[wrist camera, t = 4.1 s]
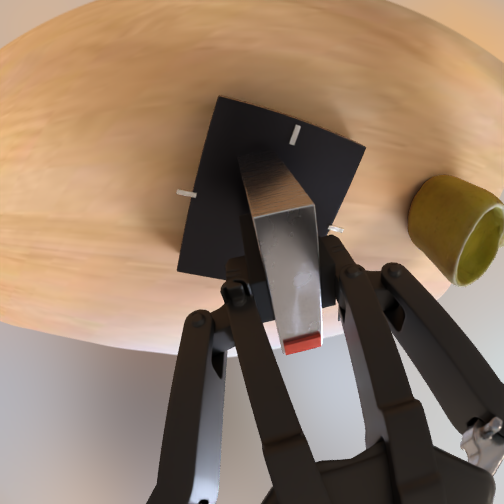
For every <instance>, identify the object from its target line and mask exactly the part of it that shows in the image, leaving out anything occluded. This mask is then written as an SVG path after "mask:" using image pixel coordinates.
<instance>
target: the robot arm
mask: <svg viewBox="0 0 504 504" xmlns="http://www.w3.org/2000/svg"><path fill="white" fill-rule="evenodd" d="M239 220H240V226H241V233H242V239H243V245H244V252H245V255H244V256H240V257H236V258H231V259H229V260H228V262H227V264H226V282H225V283H224V284H223V285H222V287H221V291H220V292H221V295H222V297H223V300H224V302H225V304H224V305H223V306H222V307H221V308H219V309H217V310H215V311H213V312H211V313H210V312H209V311H207V310H196V311H194V312H192V313H190V314H189V315H188V316H187V318H186V320H185V323H184V327H183V332H182V337H181V342H180V346H179V351H178V356H177V361H176V366H175V371H174V376H173V382H172V387H171V393H170V398H169V404H168V410H167V416H166V422H165V428H164V434H163V441H162V448H161V455H160V462H159V470H158V478H157V485H156V486H155V488H154V490H153V492H152V494H151V496H150V498H149V499H148V501H147V503H146V504H216V500H217V497H218V491H219V479H220V460H221V441H222V424H223V408H224V392H225V378H226V363H227V350H228V349H231V348H233V347H235V346H236V350H237V354H238V358H239V362H240V366H241V370H242V373H243V377H244V381H245V385H246V388H247V392H248V396H249V400H250V403H251V407H252V410H253V414H254V417H255V421H256V424H257V428H258V431H259V435H260V438H261V441H262V450H263V455H264V458H265V461H266V465H267V468H268V471H269V474H270V477H271V481H272V484H273V487H272V488H271V489H270V491H269V492H268V494H267V495H266V497H265V498H264V500H263V501H262V503H261V504H493V500H494V496H495V490H496V487H495V481H494V478H493V476H494V474H495V473H496V471H497V469H498V468H499V466H500V464H501V462H502V461H503V459H504V384H503V383H502V382H501V381H500V380H499V378H498V377H497V375H496V374H495V372H494V371H493V370H492V368H491V367H490V366H489V364H488V363H487V361H486V360H485V359H484V358H483V356H482V355H481V354H480V352H479V351H478V350H477V348H476V347H475V346H474V344H473V343H472V342H471V341H470V339H469V338H468V337H467V336H466V334H465V333H464V332H463V331H462V330H461V328H460V327H459V326H458V325H457V324H456V322H455V321H454V320H453V319H452V318H451V317H450V315H449V314H448V313H447V312H446V311H445V310H444V309H443V307H442V306H441V305H440V304H439V303H438V302H437V301H436V300H435V298H434V297H433V296H432V295H431V294H430V293H429V292H428V291H427V290H426V289H425V288H424V287H423V285H422V284H421V283H420V282H419V281H418V280H417V279H416V278H415V277H414V276H413V275H412V274H411V273H410V272H409V271H408V270H407V269H406V268H405V267H404V266H402V265H401V264H398V263H392V262H391V263H387V264H385V265H384V266H383V267H382V270H381V271H366V270H365V269H364V268H363V267H362V266H360V265H358V264H355V262H354V261H353V259H352V257H351V256H350V254H349V253H348V251H347V250H346V249H345V247H344V245H343V244H342V242H341V241H340V239H339V238H337V237H336V236H334V235H328V236H324V237H320V236H319V234H318V246H319V261H320V278H321V301H322V308H325V307H329V306H332V305H336V299H337V301H338V304H339V308H338V321H340V318H341V322H342V326H343V330H344V333H345V337H346V341H347V345H348V349H349V353H350V357H351V362H352V366H353V370H354V375H355V378H356V383H357V388H358V393H359V398H360V402H361V408H362V413H363V418H364V423H365V430H366V432H365V442H366V450H365V451H363V452H362V453H360V454H359V455H357V456H355V457H353V458H351V459H343V460H327V461H319V462H315V460H314V458H313V455H312V452H311V450H310V447H309V445H308V442H307V440H306V437H305V435H304V433H303V431H302V429H301V426H300V424H299V421H298V418H297V416H296V413H295V410H294V408H293V405H292V403H291V400H290V397H289V394H288V392H287V389H286V386H285V384H284V381H283V378H282V376H281V373H280V370H279V367H278V365H277V362H276V359H275V356H274V354H273V351H272V348H271V345H270V343H269V340H268V337H267V334H266V332H265V329H264V326H263V323H264V322H268V321H273V320H275V316H274V312H273V307H272V303H271V298H270V294H269V289H268V285H267V281H266V276H265V272H264V268H263V263H262V259H261V255H260V251H259V247H258V242H257V238H256V234H255V230H254V225H253V221H252V217H251V213H249V214H244V215H240V216H239ZM317 233H318V232H317ZM391 332H392V333H393V335H394V336H395V337H396V339H397V340H398V342H399V343H400V345H401V346H402V347H403V349H404V350H405V352H406V353H407V355H408V356H409V357H410V359H411V361H412V362H413V363H414V365H415V366H416V368H417V369H418V371H419V372H420V374H421V376H422V377H423V379H424V380H425V382H426V383H427V385H428V386H429V388H430V390H431V391H432V393H433V394H434V396H435V397H436V399H437V401H438V402H439V404H440V405H441V407H442V409H443V410H444V412H445V414H446V415H447V417H448V419H449V420H450V422H451V423H452V424H453V426H454V427H455V428H456V429H457V430H458V432H459V433H461V434H462V435H463V437H462V441H461V444H460V447H461V449H462V450H464V451H466V453H467V455H468V462H467V461H464V460H462V459H460V458H458V457H456V456H454V455H452V454H450V453H448V452H446V451H444V450H442V449H439V448H438V447H436V446H434V445H433V444H432V440H431V435H430V431H429V427H428V424H427V420H426V416H425V413H424V409H423V406H422V404H421V402H420V401H419V400H417V399H415V398H414V397H413V394H412V391H411V388H410V385H409V382H408V378H407V376H406V373H405V369H404V366H403V363H402V361H401V357H400V355H399V352H398V349H397V346H396V344H395V341H394V338H393V336H392V333H391Z"/></svg>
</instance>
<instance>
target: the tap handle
mask: <svg viewBox="0 0 504 504" xmlns="http://www.w3.org/2000/svg"><path fill="white" fill-rule="evenodd" d="M237 158H238V162H239V166H240V171H241V175H242V179H243V183H244V188H245V192H246V196H247V200H248V205H249V209H250V213H251V217H252V221H253V225H254V230H255V234H256V238H257V242H258V247H259V251H260V255H261V259H262V263H263V268H264V272H265V276H266V281H267V285H268V289H269V294H270V298H271V303H272V307H273V312H274V316H275V322H276V326H277V330H278V335H279V339H280V344H281V348H282V352H283V354H286V355H289V354H293V353H297V352H301V351H305V350H309V349H313V348H317V347H321V344H322V301H321V278H320V261H319V246H318V233H317V221H316V210H315V204H314V203H313V201H312V200H311V199H310V197H309V196H308V195H307V193H306V192H305V191H304V189H303V188H302V186H301V185H300V184H299V183H298V181H297V180H296V179H295V177H294V176H293V175H292V173H291V172H290V171H289V169H288V168H287V167H286V166H285V164H284V163H283V162H282V161H281V159H280V158H279V157H278V155H277V154H276V153H275V152H274V151H273V149H270V150H265V151H260V152H255V153H251V154H246V155H242V156H238V157H237Z"/></svg>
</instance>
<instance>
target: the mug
mask: <svg viewBox="0 0 504 504" xmlns="http://www.w3.org/2000/svg"><path fill="white" fill-rule="evenodd" d="M408 232H409V236H410V238H411V240H412V242H413V243H414V244H415V245H416V246H417V247H418V248H419V249H420V250H421V251H422V252H424V253H425V255H426V256H427V257H428V258H429V259H430V260H431V261H432V262H433V263H434V264H435V266H436V267H437V268H438V269H439V270H440V271H441V272H442V274H443V275H444V276H445V277H446V278H447V279H448V280H449V281H450V282H451V283H452V284H454V285H456V286H458V287H466V286H468V285H470V284H472V283H473V282H474V281H476V280H478V279H479V278H480V277H481V276H482V275H483V274H484V273H485V272H486V270H487V269H488V268H489V266H490V265H491V263H492V261H493V260H494V258H495V256H496V254H497V251H498V248H499V247H504V204H503V203H502V202H501V201H500V200H499V199H498V198H497V197H496V196H495V195H494V194H492V193H491V192H489V191H487V190H485V189H483V188H480V187H478V186H476V185H473V184H471V183H469V182H466V181H464V180H462V179H459V178H457V177H454V176H449V175H439V176H435V177H433V178H431V179H429V180H428V181H426V182H425V183H424V184H423V186H422V187H421V189H420V190H419V191H418V193H417V194H416V195H415V197H414V198H413V200H412V203H411V207H410V210H409V214H408Z"/></svg>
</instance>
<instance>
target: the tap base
mask: <svg viewBox="0 0 504 504" xmlns="http://www.w3.org/2000/svg"><path fill="white" fill-rule="evenodd" d="M270 149H273V151H274V152H275V153H276V154H277V155H278V157H279V158H280V159H281V161H282V162H283V163H284V164H285V166H286V167H287V168H288V169H289V171H290V172H291V173H292V175H293V176H294V177H295V179H296V180H297V181H298V183H299V184H300V185H301V186H302V188H303V189H304V191H305V192H306V193H307V195H308V196H309V197H310V199H311V200H312V201H313V203H314V204H315V210H316V221H317V232H318V234H319V236H320V237H324V236H327V234H328V232H329V230H333V231H337V232H340V233H342V232H343V230H344V229H343V228H340V227H336V226H333V225H332V223H333V221H334V219H335V217H336V215H337V213H338V210H339V208H340V206H341V204H342V202H343V200H344V197H345V195H346V193H347V191H348V189H349V186H350V184H351V182H352V180H353V177H354V175H355V173H356V170H357V168H358V166H359V163H360V161H361V159H362V156H363V154H364V152H365V149H366V147H365V146H363V145H361V144H359V143H357V142H355V141H353V140H351V139H349V138H347V137H344V136H342V135H340V134H337V133H335V132H332V131H330V130H328V129H325V128H322V127H320V126H317V125H315V124H312V123H309V122H307V121H304V120H301V119H298V118H296V117H293V116H290V115H287V114H284V113H281V112H278V111H275V110H271V109H268V108H265V107H262V106H258V105H255V104H251V103H248V102H244V101H240V100H237V99H233V98H229V97H225V96H220V95H219V96H218V99H217V102H216V105H215V109H214V112H213V115H212V119H211V122H210V126H209V129H208V133H207V137H206V140H205V144H204V148H203V152H202V155H201V159H200V163H199V167H198V171H197V175H196V180H195V184H194V188H193V192H192V191H187V190H182V189H177V192H176V194H179V195H184V196H189V197H191V201H190V206H189V210H188V215H187V220H186V224H185V229H184V234H183V239H182V244H181V250H180V255H179V261H178V266H177V271H178V272H183V273H189V274H194V275H200V276H205V277H211V278H217V279H222V280H226V264H227V262H228V260H229V259H231V258H236V257H240V256H244V255H245V252H244V245H243V239H242V233H241V226H240V220H239V216H240V215H244V214H249V213H250V209H249V205H248V200H247V196H246V192H245V188H244V183H243V179H242V175H241V171H240V166H239V162H238V158H237V157H238V156H242V155H246V154H251V153H255V152H260V151H265V150H270Z"/></svg>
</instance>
